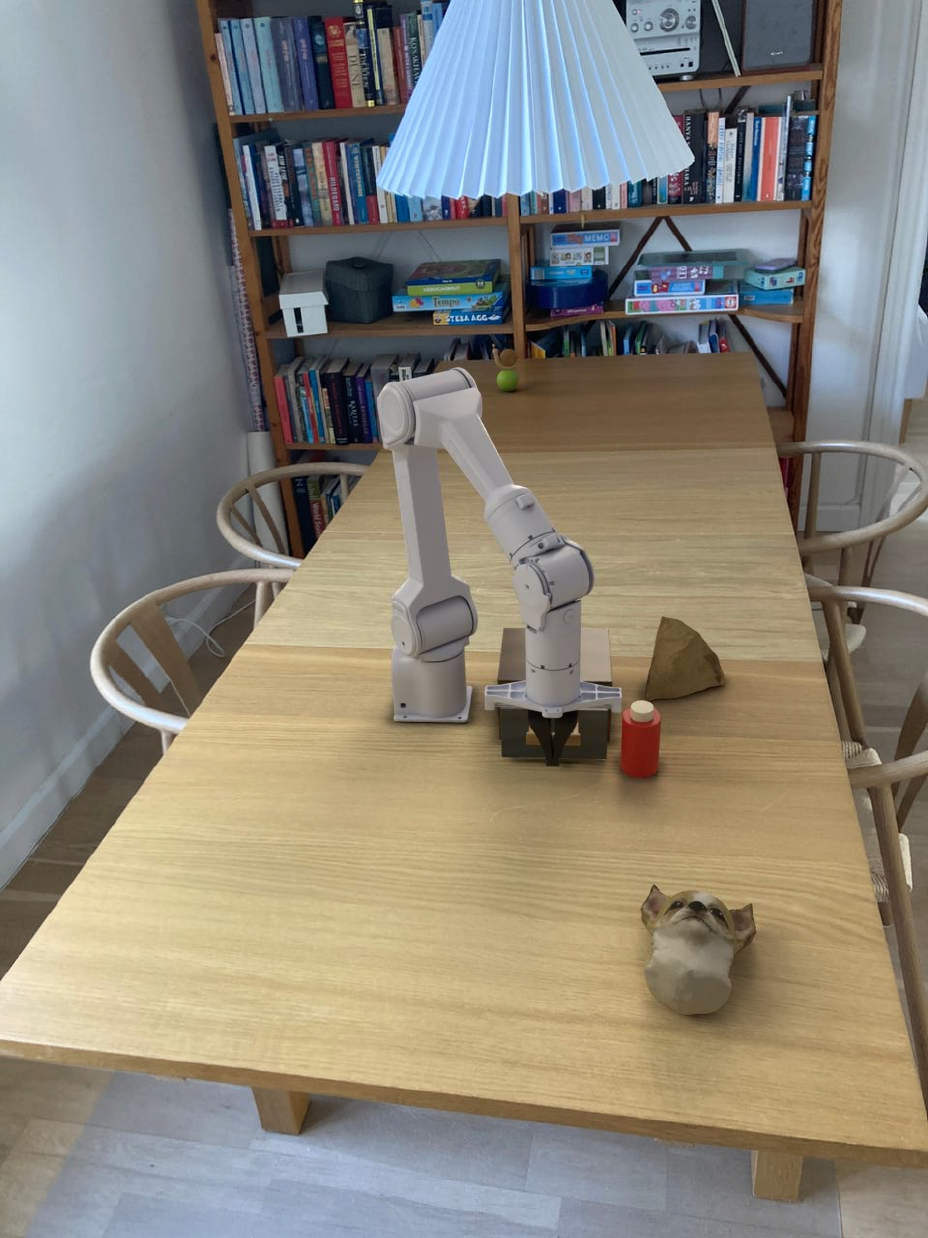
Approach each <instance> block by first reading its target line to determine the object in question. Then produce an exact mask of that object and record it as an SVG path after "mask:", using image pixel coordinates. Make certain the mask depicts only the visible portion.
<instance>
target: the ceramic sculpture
mask: <svg viewBox="0 0 928 1238" xmlns="http://www.w3.org/2000/svg"><path fill="white" fill-rule="evenodd" d="M753 907H754V905H753V903H752V902H751V903H748V904H746V905H745V906H743V907H741V908H736V909H733V908H732V909H728V907H727V905H726V904H725V903H723V901H722V900H720V899H719V898H718V897H717V896H715V895H713V894H711V893H708V892H705V891H701V890H682V891H680V892H677V893H675V894H673V895H672V896H668V895H666V894H664V893H663V892H662V891H661V889H659V887H658V886H657V885H656V884H655V883H653V884H652V886H651V888H650V890H649V893H648V896H647V897H646V899H645V900H644V902H643V903H642V905H641V907H640V909H639V910H640V914H641V916H640V919H641V921H642V923H643V925H644V926H645V928H646V930H647V932H649V934H650V935H651V936H652V937H651V942H650V945H651V956H650V960H648V961H647V963H646V965H645V966H644V968H643V977H644V981H645V984H646V987H647V989H648V991H649V992H650V994H651V996H653V997H654V999H655V1000H656V1001H657V1002H658V1003H660V1004H662V1005H663V1006H666V1007H668V1008H669V1009H672V1010H673V1011H674V1012H676V1013H678V1014H680V1015H684V1016H686V1015H687V1016H688V1015H689V1016H690V1015H697V1014H698V1015H707V1014H712V1013H714V1012H716V1011H718V1010H720V1009H721V1008H722V1007H723V1005H725V1003H726V1002H727V1001H728V999H729V997H730V995H731V993H732V989H733V987H732V983H731V980H730V978H729V975H730V970H731V966H732V964H733V962H734V960H735V959H734V957H735V955H736V954H738V953H740V952H741V951H742V950H744V949H745V948H747V947H748V946H749V945H751V943H752V942H753V940H754V938H755V936H756V934H757V927H756V922H755V918H754V909H753Z"/></svg>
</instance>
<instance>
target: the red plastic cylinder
mask: <svg viewBox="0 0 928 1238" xmlns="http://www.w3.org/2000/svg"><path fill="white" fill-rule="evenodd" d="M621 717H622V718H621V740H620V742H621V743H620V764H619V765H620V769H621V771H622V772H623V773H624V774H626V775H627V776H630V777H632V778H637V779H644V778H649V777H653V775H655V774H657V772H658V770H659V764H660V763H659V761H660V746H661V733H662V715H661V713H660V712H659V711H658V710H657V709H655V706H654V704H653V703H651V701H647V700H636V701H633V702H632V703H631V705H630V707H627V708H626V709H625V710H624V711H623V712H622V716H621Z"/></svg>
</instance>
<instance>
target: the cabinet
mask: <svg viewBox="0 0 928 1238" xmlns="http://www.w3.org/2000/svg"><path fill="white" fill-rule="evenodd" d="M610 641H611V640H610V629H609V628H581V655H580V681H583V682H587V683H592V684H597V685H602V686H607V687H613V673H612V672H613V671H612V658H611V642H610ZM500 644H501V645H500V653H499V661H498V662H499V663H498V671H497V679H496V683H497V684H496V685H502V684H508V683H514V682H519V681H525V680H526V646H525V627H503V628H502V635H501V643H500ZM497 715H498V740H499V741H501V722H500V707H497ZM611 728H612V711H611V709H608V733H607V743H610V742H611V731H612V730H611Z"/></svg>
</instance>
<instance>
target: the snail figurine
mask: <svg viewBox="0 0 928 1238" xmlns="http://www.w3.org/2000/svg"><path fill="white" fill-rule="evenodd" d="M491 346H492V354H493V358H494V362H495V364H496V366H497V367H498V369H500V370H501V371H500V372H499V373H498V374H497V376H496V384H497V386H498V388H499V389H500V390H501V391H504V392H512V391H513V390H515V389H516V388H517V387H518V385H519V381H520V379H519V375H518V373H517V372H516V371H514V370H515V368H516V367H517V366H518V363H517V361H518V355H517V352H516V351H515V350H514V349H511V348H507V349H503V350H502V352H500V354H499V349H497V348H495V347H496V344H494V343H492V344H491Z"/></svg>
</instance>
